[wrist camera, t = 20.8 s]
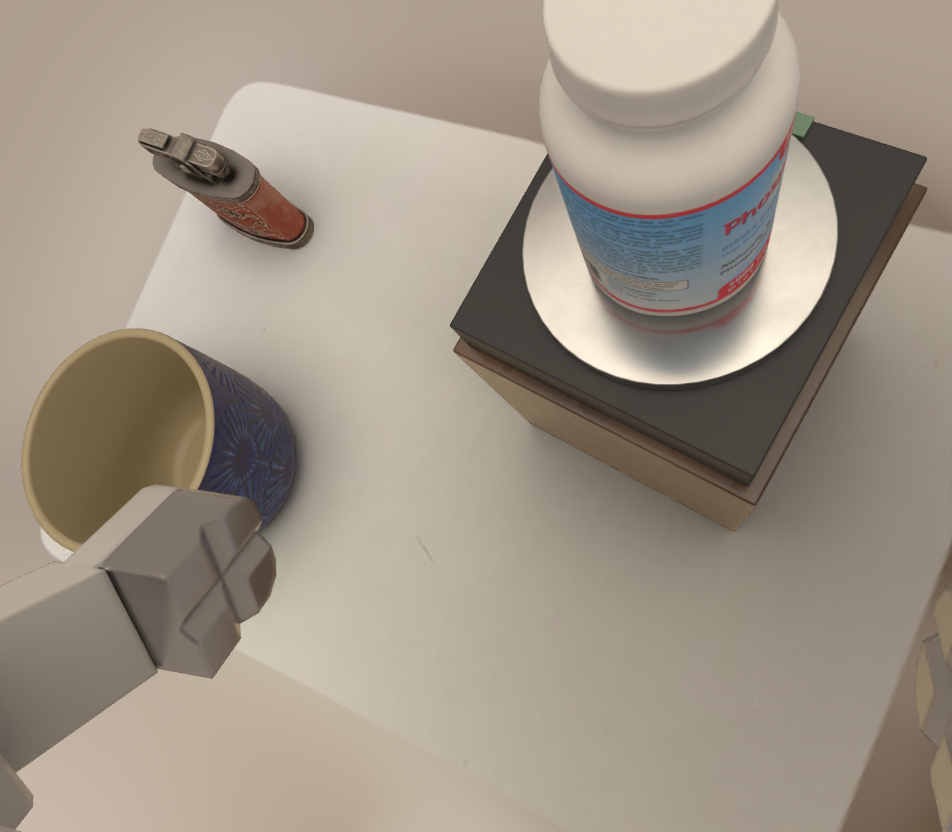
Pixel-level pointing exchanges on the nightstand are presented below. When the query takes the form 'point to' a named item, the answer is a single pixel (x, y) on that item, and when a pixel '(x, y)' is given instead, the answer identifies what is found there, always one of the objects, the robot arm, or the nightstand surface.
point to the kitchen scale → (703, 333)
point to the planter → (148, 433)
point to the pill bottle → (669, 141)
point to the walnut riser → (656, 459)
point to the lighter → (228, 188)
